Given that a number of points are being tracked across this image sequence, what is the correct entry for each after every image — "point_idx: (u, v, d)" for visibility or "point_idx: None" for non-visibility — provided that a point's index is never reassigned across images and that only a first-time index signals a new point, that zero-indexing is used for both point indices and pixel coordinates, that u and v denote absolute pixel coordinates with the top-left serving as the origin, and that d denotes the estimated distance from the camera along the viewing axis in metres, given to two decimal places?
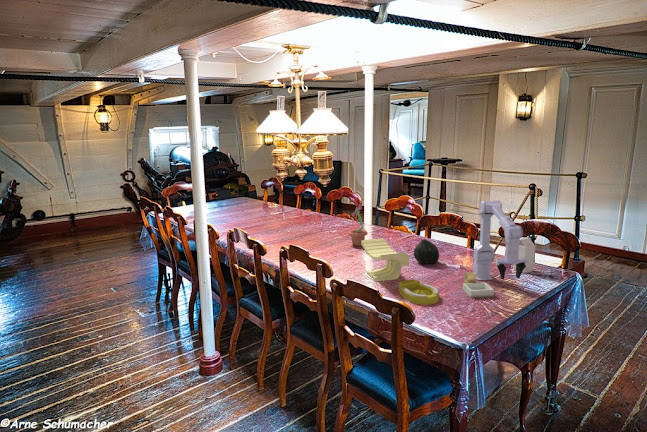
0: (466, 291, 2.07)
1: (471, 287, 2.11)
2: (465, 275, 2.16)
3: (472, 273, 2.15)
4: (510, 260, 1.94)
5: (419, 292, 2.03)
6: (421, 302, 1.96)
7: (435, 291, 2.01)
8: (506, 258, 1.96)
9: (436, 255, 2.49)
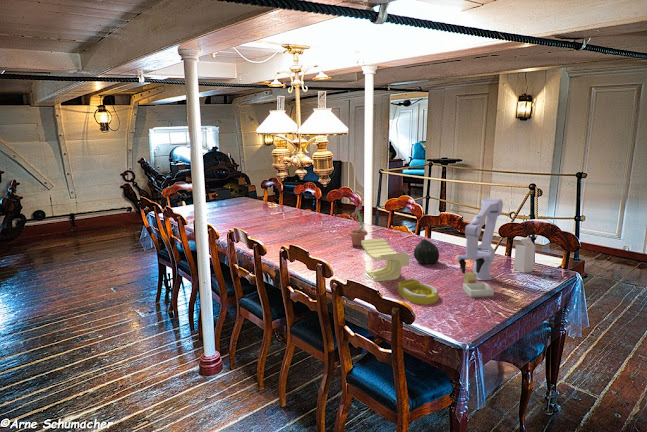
0: (466, 291, 2.07)
1: (471, 287, 2.11)
2: (465, 275, 2.16)
3: (472, 273, 2.15)
4: (470, 256, 2.11)
5: (418, 292, 2.03)
6: (420, 302, 1.96)
7: (434, 291, 2.01)
8: (466, 254, 2.12)
9: (436, 255, 2.49)
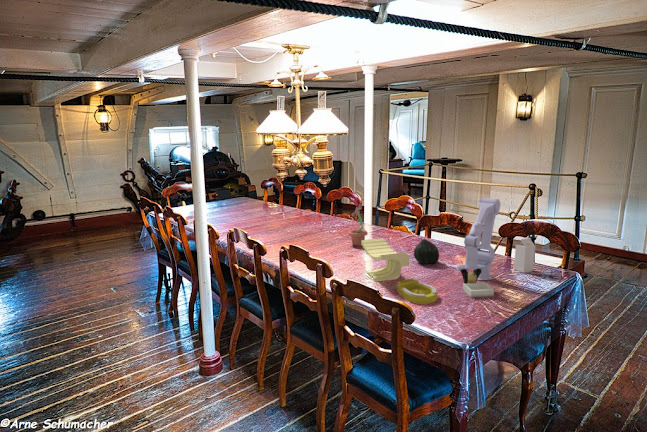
0: (466, 291, 2.07)
1: (471, 287, 2.11)
2: None
3: (472, 273, 2.15)
4: (469, 266, 2.12)
5: (417, 291, 2.04)
6: (419, 301, 1.97)
7: (433, 290, 2.02)
8: (466, 264, 2.13)
9: (436, 255, 2.49)
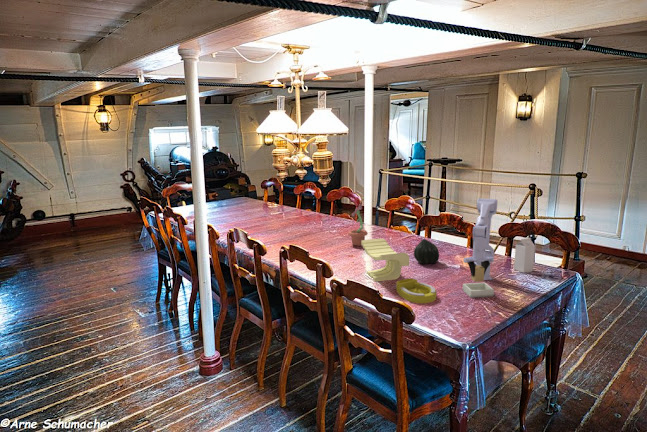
0: (466, 291, 2.07)
1: (471, 287, 2.11)
2: None
3: (480, 266, 2.06)
4: (477, 258, 2.02)
5: (416, 291, 2.05)
6: (418, 301, 1.97)
7: (432, 290, 2.02)
8: (473, 256, 2.04)
9: (436, 255, 2.49)
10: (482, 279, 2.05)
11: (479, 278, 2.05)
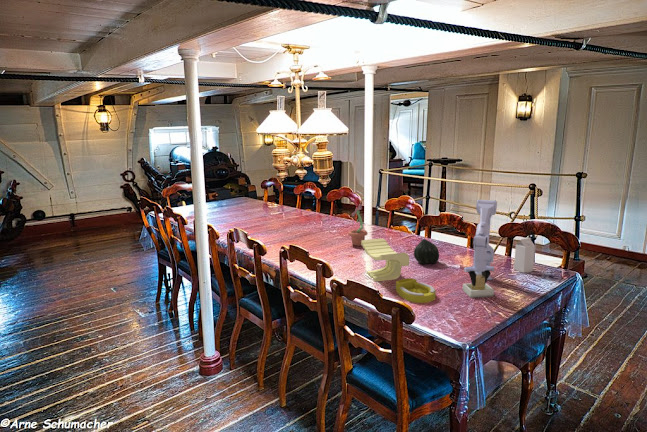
0: (466, 291, 2.07)
1: (471, 287, 2.11)
2: None
3: (480, 276, 2.06)
4: (478, 267, 2.02)
5: (416, 291, 2.05)
6: (418, 300, 1.98)
7: (431, 290, 2.03)
8: (474, 265, 2.04)
9: (436, 255, 2.49)
10: (483, 289, 2.05)
11: (479, 288, 2.05)
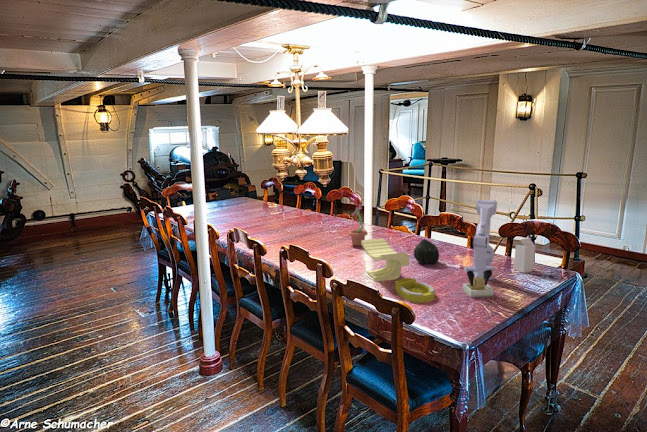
0: (466, 291, 2.07)
1: (471, 287, 2.11)
2: None
3: (480, 277, 2.06)
4: (478, 267, 2.02)
5: (415, 290, 2.05)
6: (417, 300, 1.98)
7: (431, 289, 2.03)
8: (474, 265, 2.04)
9: (436, 255, 2.49)
10: None
11: None
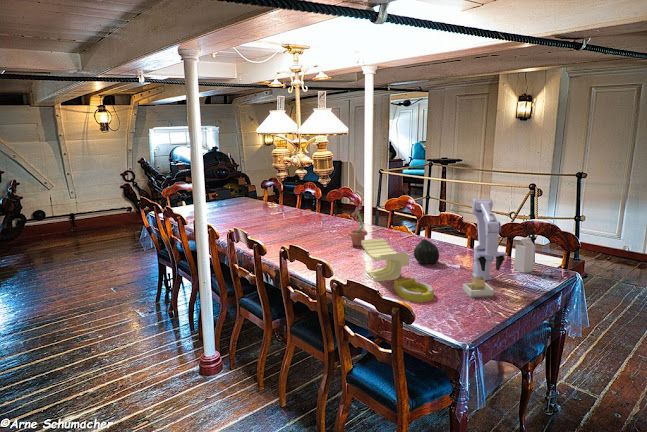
0: (466, 291, 2.07)
1: (471, 287, 2.11)
2: (473, 279, 2.07)
3: (480, 277, 2.06)
4: (490, 253, 2.08)
5: (414, 290, 2.06)
6: (416, 300, 1.99)
7: (430, 289, 2.03)
8: (486, 251, 2.10)
9: (436, 255, 2.49)
10: None
11: None
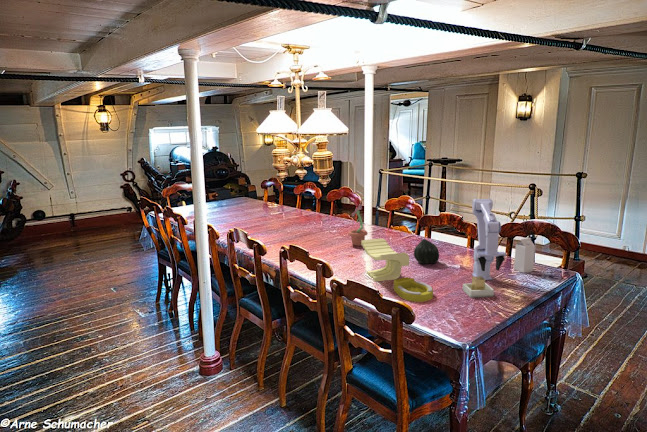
0: (466, 291, 2.07)
1: (471, 287, 2.11)
2: (473, 279, 2.07)
3: (480, 277, 2.06)
4: (490, 253, 2.08)
5: (413, 290, 2.06)
6: (415, 299, 1.99)
7: (429, 289, 2.04)
8: (486, 251, 2.10)
9: (436, 255, 2.49)
10: None
11: None
